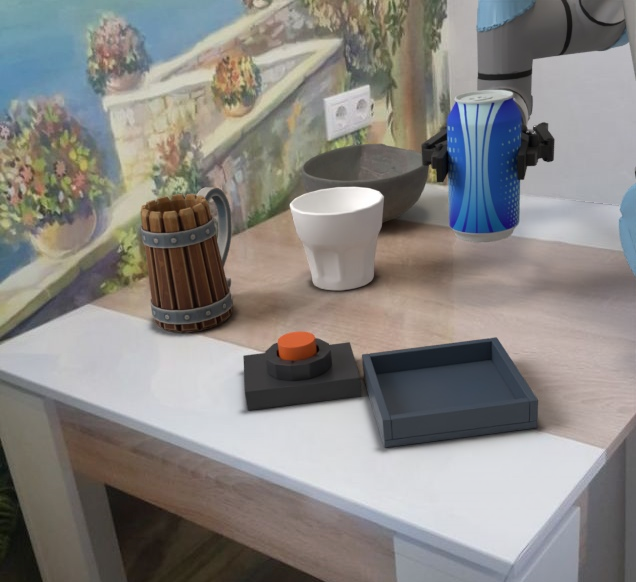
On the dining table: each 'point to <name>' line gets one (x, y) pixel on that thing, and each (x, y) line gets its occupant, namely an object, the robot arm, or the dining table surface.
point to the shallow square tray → (447, 392)
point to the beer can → (483, 165)
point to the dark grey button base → (301, 377)
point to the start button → (297, 346)
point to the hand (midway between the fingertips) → (479, 169)
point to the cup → (339, 234)
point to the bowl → (370, 174)
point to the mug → (188, 260)
